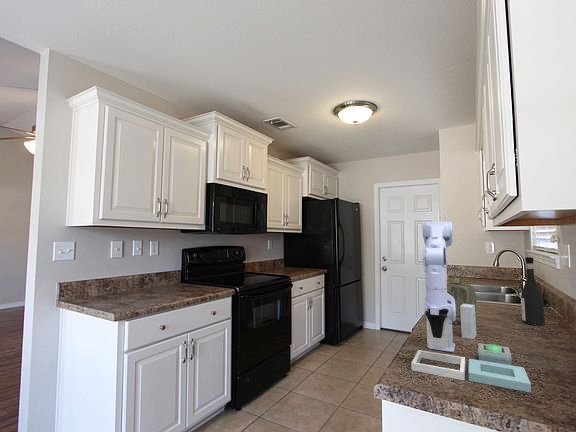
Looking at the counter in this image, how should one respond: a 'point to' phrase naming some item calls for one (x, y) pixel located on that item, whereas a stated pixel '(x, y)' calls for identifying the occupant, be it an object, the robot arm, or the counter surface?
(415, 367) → the white square frame
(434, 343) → the billet
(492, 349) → the button
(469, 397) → the counter surface
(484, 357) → the button housing
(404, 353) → the counter surface
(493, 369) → the pale blue window frame
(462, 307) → the skincare box
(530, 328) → the counter surface
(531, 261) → the wine bottle
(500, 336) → the counter surface
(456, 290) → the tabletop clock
